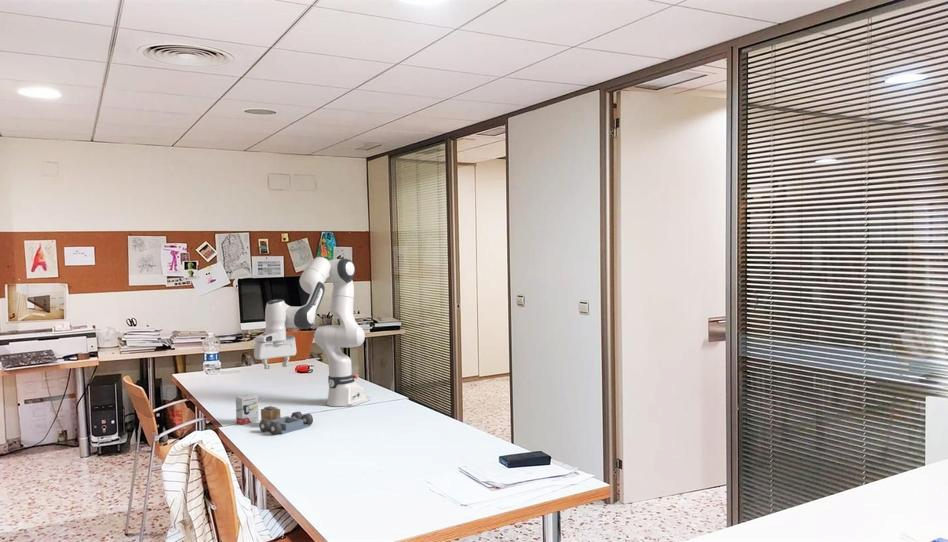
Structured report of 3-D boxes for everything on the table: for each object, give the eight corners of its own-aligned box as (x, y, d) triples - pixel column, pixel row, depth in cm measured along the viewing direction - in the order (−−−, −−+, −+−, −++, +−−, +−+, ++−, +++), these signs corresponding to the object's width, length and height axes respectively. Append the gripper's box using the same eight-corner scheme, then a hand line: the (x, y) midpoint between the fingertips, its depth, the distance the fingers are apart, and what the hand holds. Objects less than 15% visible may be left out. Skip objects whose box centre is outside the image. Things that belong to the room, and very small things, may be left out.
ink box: (242, 425, 298) (241, 398, 298) (235, 423, 301) (235, 397, 301) (259, 421, 305) (258, 395, 305) (252, 419, 308) (251, 393, 308)
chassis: (296, 421, 302) (295, 410, 302) (313, 425, 295) (313, 414, 295) (258, 431, 287) (258, 419, 287) (276, 435, 280) (276, 423, 280)
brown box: (270, 422, 302) (270, 405, 302) (280, 424, 298) (280, 407, 297) (261, 425, 298) (260, 407, 298) (271, 427, 294) (270, 409, 293)
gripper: (290, 334, 309) (290, 364, 308) (251, 337, 292) (251, 370, 292) (299, 335, 305) (299, 365, 305) (260, 338, 288) (260, 371, 288)
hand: (276, 367), depth 298 cm, fingers open, 8 cm apart
